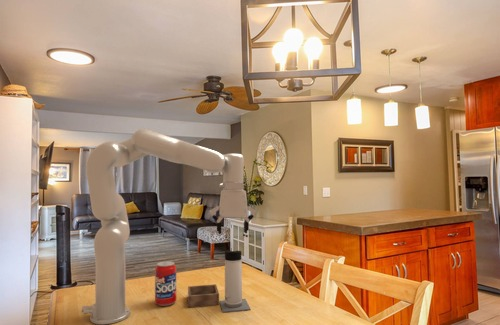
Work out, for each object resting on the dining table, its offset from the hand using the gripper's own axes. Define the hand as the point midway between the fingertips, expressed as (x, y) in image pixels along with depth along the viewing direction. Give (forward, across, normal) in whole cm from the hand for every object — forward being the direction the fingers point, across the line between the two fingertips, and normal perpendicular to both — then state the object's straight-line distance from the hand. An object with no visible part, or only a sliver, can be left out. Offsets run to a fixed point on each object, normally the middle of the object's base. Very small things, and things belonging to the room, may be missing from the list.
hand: (232, 232), depth 122 cm
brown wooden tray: (+27, -10, +8) cm, 30 cm away
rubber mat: (+27, +1, 0) cm, 27 cm away
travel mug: (+26, +1, 0) cm, 26 cm away
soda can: (+28, -24, +8) cm, 37 cm away
